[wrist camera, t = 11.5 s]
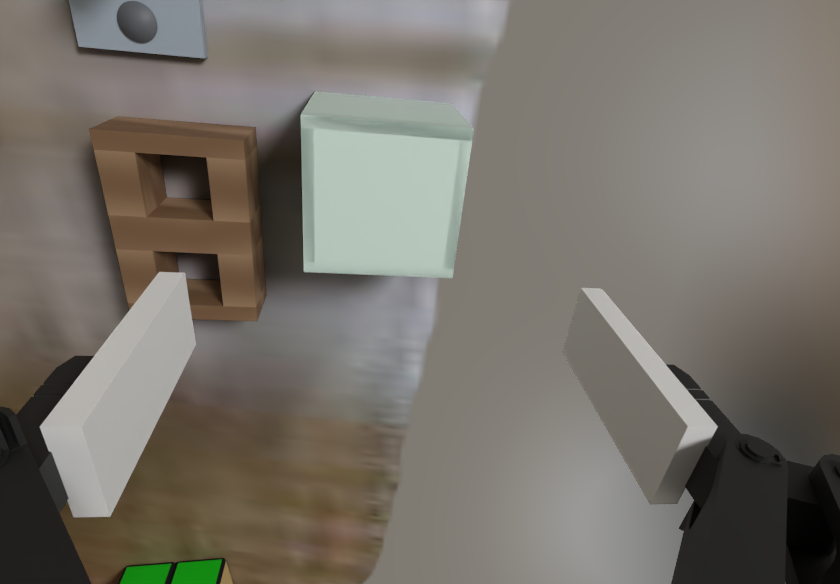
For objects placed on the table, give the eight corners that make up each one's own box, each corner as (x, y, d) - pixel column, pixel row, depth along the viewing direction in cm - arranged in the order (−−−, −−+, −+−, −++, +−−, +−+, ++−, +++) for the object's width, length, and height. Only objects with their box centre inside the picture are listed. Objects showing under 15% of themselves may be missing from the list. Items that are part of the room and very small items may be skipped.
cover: (436, 228, 35) (452, 278, 29) (315, 221, 34) (303, 272, 28) (451, 103, 31) (473, 128, 25) (314, 91, 30) (300, 114, 24)
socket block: (266, 295, 37) (257, 321, 34) (151, 291, 36) (131, 317, 33) (255, 127, 31) (243, 140, 28) (117, 116, 30) (89, 128, 27)
